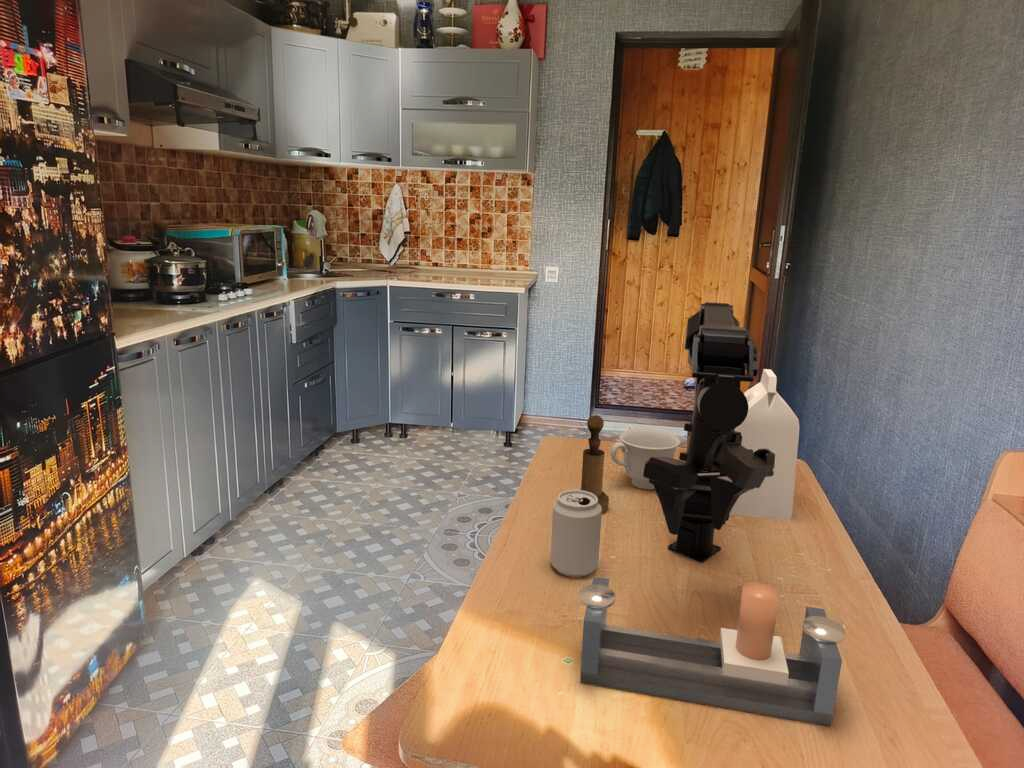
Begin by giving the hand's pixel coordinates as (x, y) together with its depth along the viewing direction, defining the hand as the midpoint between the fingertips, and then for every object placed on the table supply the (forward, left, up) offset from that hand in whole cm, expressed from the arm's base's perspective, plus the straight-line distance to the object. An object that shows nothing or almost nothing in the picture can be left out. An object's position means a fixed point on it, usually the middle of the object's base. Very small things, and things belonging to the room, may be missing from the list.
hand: (695, 531), depth 96 cm
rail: (+12, +9, -12) cm, 19 cm away
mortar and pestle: (-16, -30, -12) cm, 36 cm away
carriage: (+9, +14, -9) cm, 18 cm away
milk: (-41, -10, -12) cm, 44 cm away
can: (+3, -18, -12) cm, 22 cm away
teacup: (-32, -30, -12) cm, 46 cm away
